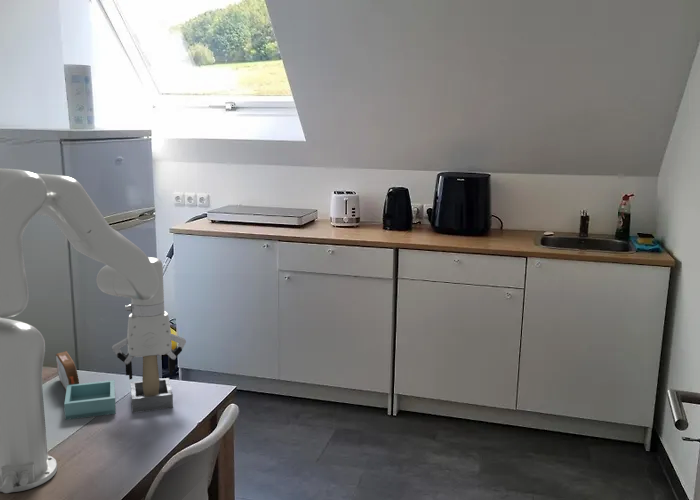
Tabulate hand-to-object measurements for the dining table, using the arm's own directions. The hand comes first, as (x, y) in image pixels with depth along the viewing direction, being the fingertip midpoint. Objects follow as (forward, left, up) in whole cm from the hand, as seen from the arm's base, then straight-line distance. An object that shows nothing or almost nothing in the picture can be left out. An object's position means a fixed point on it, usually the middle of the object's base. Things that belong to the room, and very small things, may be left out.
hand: (150, 375), depth 160 cm
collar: (0, 0, -7) cm, 7 cm away
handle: (0, 0, -7) cm, 7 cm away
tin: (+15, +20, -7) cm, 26 cm away
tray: (+1, +14, -7) cm, 16 cm away
